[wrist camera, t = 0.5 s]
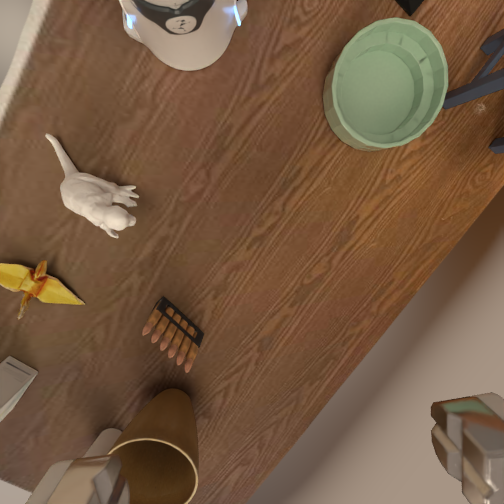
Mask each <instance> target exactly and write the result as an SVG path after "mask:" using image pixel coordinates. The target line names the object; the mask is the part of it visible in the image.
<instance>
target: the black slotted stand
mask: <svg viewBox="0 0 504 504" xmlns="http://www.w3.org/2000/svg"><path fill="white" fill-rule="evenodd" d="M395 1H396V2H397V3H398V4H399V5H400V6H401V7H402V8H403V9H404V11H405V12H406V13H407V14H408V15H409V16H411V15H412V14H413V13H414V12H415V10H416V9H417V8H418V7H419V6H420V4H421V3H422V2H423V1H424V0H395Z"/></svg>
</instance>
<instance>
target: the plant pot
mask: <svg viewBox="0 0 504 504" xmlns="http://www.w3.org/2000/svg"><path fill="white" fill-rule="evenodd" d="M108 454H119V456H120V459H121V461H122V464H123V466H122V468H121V471H120V474H121V475H122V476H124V477H125V478H126V479H127V480H128V484H129V488H130V502H129V504H187V503H188V502H189V501H190V500H191V499H192V497H193V496H194V494H195V492H196V489H197V485H198V467H199V457H198V437H197V427H196V421H195V415H194V411H193V407H192V403H191V400H190V398H189V396H188V395H187V394H186V393H185V392H183V391H182V390H179V389H173V388H171V389H166V390H164V391H162V392H160V393H159V394H158V395H157V396H156V397H154V398H153V399H152V400H151V401H150V402H149V403H148V404H147V405H146V406H145V407H144V408H143V409H142V410H141V411H140V412H139V413H138V414H137V415H136V416H135V418H134V419H133V420H132V421H131V422H130V423H129V425H128V426H127V427H126V428H125V430H124V431H123V432H122V434H121V435H120V436H119V438H118V439H117V441H116V442H115V443H114V445H113V446H112V448H111V449H110V450H109V452H108V453H107V455H108Z"/></svg>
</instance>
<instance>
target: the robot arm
mask: <svg viewBox="0 0 504 504" xmlns="http://www.w3.org/2000/svg"><path fill="white" fill-rule="evenodd" d="M119 2H120V4H121V6H122V13H123V26H124V29H125V31H126V33H127V34H128V35H129V36H130V37H131V38H133V39H135V40H137V41H139V42H141V43H143V44H144V45H146V46H147V47H148V48H149V49H150V50H151V52H152V53H153V54H154V55H155V56H156V57H157V58H158V59H160V60H161V61H162V62H164V63H165V64H167V65H169V66H171V67H173V68H176V69H179V70H185V71H193V70H199V69H202V68H205V67H207V66H209V65H211V64H213V63H214V62H215V61H216V60H218V59H219V58H220V57H221V55H222V54H223V53H224V52H225V50H226V48H227V47H228V45H229V42H230V40H231V37H232V35H233V32H234V30H235V28H236V27H237V26H238V25H239V26H240V25H241V22H242V20H243V19H244V18H245V17H246V15H247V12H248V6H247V1H246V0H239V1H236V0H119ZM431 416H432V418H433V419H434V420H435V421H436V422H437V423H436V424H435V426H434V427H433V429H432V430H431V435H432V443H433V446H434V449H435V452H436V455H437V457H438V459H439V460H440V462H441V464H442V466H443V467H444V468H445V470H446V471H447V473H448V474H450V475H451V476H453V477H454V478H456V479H458V480H459V481H461V482H462V493H463V495H464V496H465V497H466V499H467V500H468V501H469V503H470V504H504V399H503V398H502V397H501V396H499V395H497V394H495V393H492V392H491V393H485V394H480V395H474V396H471V397H470V396H469V397H463V398H457V399H451V400H446V401H440V402H434V403H433V404H432V406H431ZM122 466H123V464H122V461H121V459H120V456H119V454H108V455H100V456H93V457H85V458H77V459H74V460H66V461H58V462H56V463H55V464H53V465H52V466H51V467H50V468H49V470H48V471H47V473H46V474H45V475H44V477H43V478H42V480H41V481H40V483H39V484H38V486H37V487H36V489H35V490H34V492H33V493H32V495H31V496H30V498H29V499H28V501H27V502H26V503H25V504H129V502H130V488H129V484H128V480H127V479H126V478H125V477H124V476H122V475H121V474H120V471H121V468H122Z"/></svg>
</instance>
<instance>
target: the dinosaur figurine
mask: <svg viewBox="0 0 504 504" xmlns="http://www.w3.org/2000/svg"><path fill="white" fill-rule="evenodd" d="M45 136H46V138H47V139H48V140H49V141H50V142H51V143H52V145H53V146H54V149H55V151H56V153H57V155H58V158H59V160H60V163H61V165H62V167H63V169H64V172H65V179H64V180H63V182H62V183H61V185H60V191H61V195H62V199H63V202H64V205H65V206H66V207H67V208H69V209H70V210H72V211H74V212H75V213H77V214H80V215H82V216H84V217H86V218H87V219H88V220H90V221H91V222H92V223H93V224H94V225H95V226H100V227H101V228H102V229H104V230H106V232H107V233H108V234H109V235H110V236H112V237H116V238H119V237H118V234H117V233H115V232H114V230H113V229H115V230H123V229H124V228H126V227H128V226H133V225H134V224H135V223H136V219H135V217H134V216H132V215H130V214H128V212H127V211H126V210H125V209H122V208H121V207H119V206H118V205H117V206H112V202H117V203H123V204H125V205H126V206H127V207H130V206H131V207H133V206H134V207H135V206H137V204H136V202H135V201H133V200H131V199H130V198H129V196H131V197H135V198H139V195H137V194H136V193H134V192H132V191H131V190H132V189H135V188H136V186H133V185H130V186H117V185H116V184H115V183H113V182H110V183H109V182H107V181H105V180H104V179H101V178H98V177H95V176H93V175H91V174H88V173H79V172H78V170H77V169H76V168H75V166H74V164H73V163H72V161H71V160H70V158H69V157H68V156H67V154H66V153H65V151H64V150H63V148H62V146H61V145H60V143H59V142H58V140H57V139H56V138H55V137H53V136H52V135H50V134H46V135H45Z"/></svg>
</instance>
